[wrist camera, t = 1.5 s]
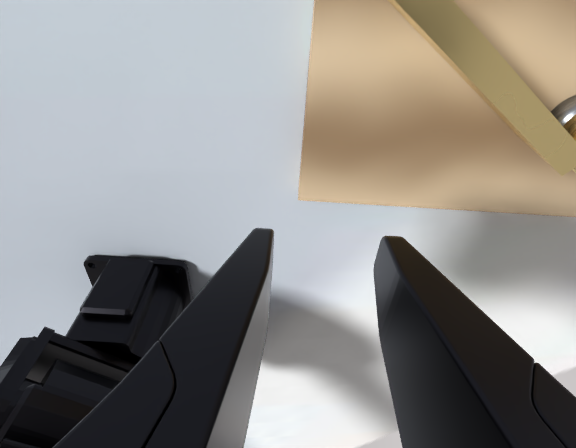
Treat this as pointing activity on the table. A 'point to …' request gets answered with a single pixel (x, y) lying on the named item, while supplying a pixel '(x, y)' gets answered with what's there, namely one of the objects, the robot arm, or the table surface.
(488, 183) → the oak board
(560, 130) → the olive tan bar
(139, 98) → the table surface
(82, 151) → the table surface
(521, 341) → the table surface
